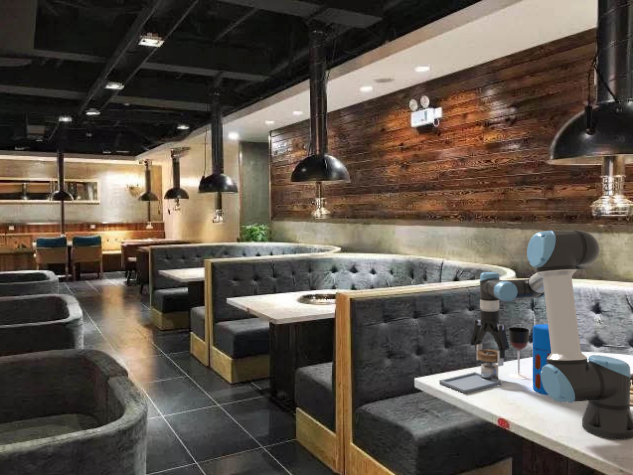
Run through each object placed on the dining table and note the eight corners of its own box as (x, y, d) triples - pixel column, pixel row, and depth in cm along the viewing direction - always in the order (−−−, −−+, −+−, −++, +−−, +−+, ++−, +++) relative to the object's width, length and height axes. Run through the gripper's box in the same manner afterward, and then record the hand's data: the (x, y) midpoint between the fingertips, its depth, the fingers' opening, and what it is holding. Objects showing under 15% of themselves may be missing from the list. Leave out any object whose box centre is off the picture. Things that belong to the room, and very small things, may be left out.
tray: (500, 384, 212) (500, 381, 212) (464, 394, 202) (464, 390, 202) (474, 375, 224) (474, 371, 224) (439, 384, 214) (439, 380, 214)
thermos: (566, 396, 198) (566, 330, 196) (535, 394, 200) (536, 330, 198) (558, 386, 208) (559, 324, 207) (530, 385, 211) (530, 323, 209)
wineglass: (509, 379, 219) (509, 331, 218) (507, 372, 227) (507, 326, 226) (530, 380, 217) (530, 332, 216) (527, 373, 225) (527, 327, 224)
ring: (503, 362, 212) (503, 356, 212) (478, 361, 214) (478, 355, 214) (500, 355, 221) (500, 349, 221) (476, 354, 224) (476, 348, 224)
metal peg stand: (499, 382, 214) (499, 355, 213) (481, 381, 216) (481, 354, 215) (498, 377, 221) (498, 351, 220) (480, 376, 223) (480, 350, 222)
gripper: (518, 312, 209) (518, 367, 210) (474, 304, 228) (474, 354, 230) (506, 315, 205) (506, 371, 206) (462, 306, 224) (462, 357, 226)
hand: (489, 362), depth 218 cm, fingers closed on ring, 10 cm apart
